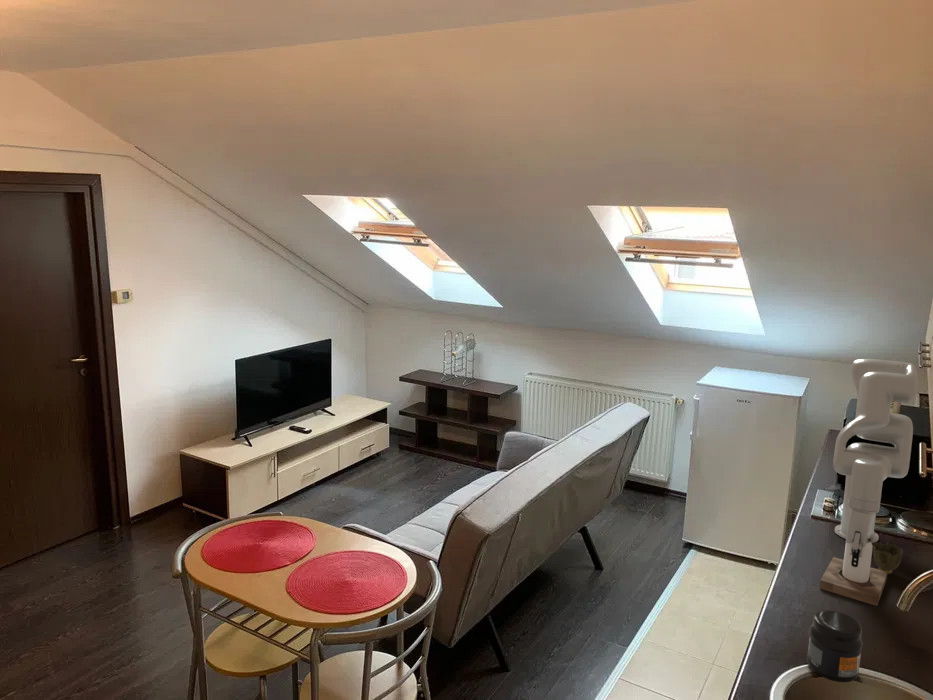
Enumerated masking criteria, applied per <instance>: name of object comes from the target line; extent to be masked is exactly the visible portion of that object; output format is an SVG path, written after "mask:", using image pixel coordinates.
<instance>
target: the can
mask: <svg viewBox="0 0 933 700" xmlns="http://www.w3.org/2000/svg"><path fill="white" fill-rule="evenodd" d="M871 541H872V540H871V539H870V538H869V540H868V542H867V544H866V546H865V547H863V548H862V546H861V545H862V542H859V547H858V549H862V555H861V557H859V561H858V567H853V566H852V565H851V563H852V555H851V554H850V551H851V544H852V541H851V543H847V542H846V541H845V547H844V548H845V549H844V556H843V560H844V563H843V572H842V574H843V576H844V578H845V579H846V580H849V581H852V582H856V583H866V582H867V581H868V580H869V573H870V567H871V563H872V555H873V543H871ZM853 543H854V542H853ZM859 554H860V553H859ZM854 560H856V559H854ZM854 564H856V563H854Z"/></svg>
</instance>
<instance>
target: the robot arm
mask: <svg viewBox="0 0 933 700" xmlns="http://www.w3.org/2000/svg"><path fill="white" fill-rule="evenodd" d="M850 369H851V370H850V371H851V377H852V381H853V384H854V386H855V390H856V396H857V397H856V399H857V401H856V407H855V408H856V410H855V416H854V419H853V420H851V421H850V422H848V423H847V424H846V425H845V426H844V427H843V428H842V429H841V430H840V431H839V433H838V435H837V437H836V439H835V444H834V446H835V447H834V454H833V461H832V462H833V469H834V471H835V472H836V473H838V474H839V475H843V476H845V484H844V485H845V487H844V493H843V494H844V495H843V503H842V511H841V521H840V524H838V525H836V526H834V532H835V534H837V536H839V537H841V538H843V539H844V540H845V543H846V542H847V543H851V541H852V544H851V551H850V554H851V555H852V563H851V565H852V566H853V567H858V561H859V557H861V555H862V549H858V547H859V542H862V545H861V546H862V548H863V547H865V546H866V544H867V542H868V540H869V538H870V539H871V540H872V541H871V543H872V544H875V542H877V543H878V541H879V535H878V533H876V532H875V523H876V517H877V513H879V512H880V508H881V507H880V506H881V499H882V491H883V490H882V489H883V484H884V483H883V482H884V481H885V480H886V479H888V478H895V479H903V478H904V477H906V476H907V475H908V472H909V469H910V461H911V453H912V445H913V444H912V443H913V435H914V426H913V425H914V424H913V421H912V419H911V418H910V417H909V416H907V415H904V414H901V413H900V414H899V413H893V412H891V407H892V402H897V403H904V404H910V403H913V402H914V401H915V400H916V397H917V394H918V389H919V388H918V387H919V380H918V369H917V367H916V365H914V364H913V363H911V362H906V361H899V360H898V361H896V360H886V359H876V358H874V359H873V358H860V359H859V358H858V359H855V360H853V362H852V364H851V368H850ZM854 436H857V437H858V438H860V439H863V440H868V441H875V442H880V443H887V444H892V445H893V446H886V445H881V444H875V443H874V444H872V443H869V442H868V443H867V442H853V443H851V444H850V445H848V446H847V443H848V441H849V439H852V437H854ZM846 446H847V447H846ZM853 542H854V543H853ZM859 553H860V554H859ZM854 559H856V560H854ZM854 563H856V564H854Z"/></svg>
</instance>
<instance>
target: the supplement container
mask: <svg viewBox="0 0 933 700" xmlns="http://www.w3.org/2000/svg"><path fill="white" fill-rule="evenodd" d="M812 621H813V622H812V624H811V626H810V627H809V639H808V649H807V654H806V662H807V664H808V666H809V668H810V669H811V670H812V671H813V672H814V673H815V674H817V675H819V676H820V677H822V678H824V679H827V680H829V681H832V682H837V683H850V682H853V681H855V680H856V679H858V677H859V674H860V664H861V657H862V649H863V646H864V642H863V639H862V632H863V627H862V625H861V623H860V622H859V621H858V620H857V619H855V618H853V617H852V616H850V615H848V614H846V613H843V612H840V611H836V610H825V609H824V610H820V611H816V612H815V613H814V615H813V620H812Z"/></svg>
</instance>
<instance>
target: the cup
mask: <svg viewBox="0 0 933 700" xmlns="http://www.w3.org/2000/svg"><path fill="white" fill-rule="evenodd" d="M872 546H873V547H872V552H873V561H874V563H875V565H876V566H877V569H878V570H882V571H886V572H888V573H887V576H888V575H892V574H893V570H896V569H897V568H899V565H900V564H901V561H902V557H903V553H904V550H903V548H900V547H901V546H898V547H897V545H896V544H894V543H893V544H892V543H891V544H890V542H886V543H885V544H882V541H879V542H878V541H877V542H875V543H872Z"/></svg>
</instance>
